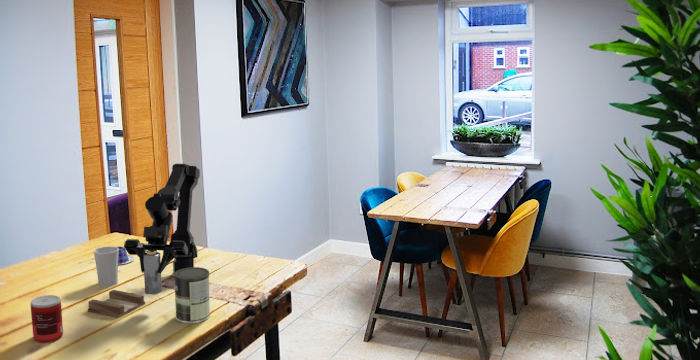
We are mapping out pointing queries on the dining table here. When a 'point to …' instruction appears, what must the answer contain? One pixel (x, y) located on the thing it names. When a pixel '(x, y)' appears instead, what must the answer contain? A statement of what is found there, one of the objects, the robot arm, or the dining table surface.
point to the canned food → (46, 318)
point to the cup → (107, 265)
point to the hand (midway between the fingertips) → (151, 272)
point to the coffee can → (192, 295)
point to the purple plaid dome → (123, 256)
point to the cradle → (117, 304)
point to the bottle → (152, 272)
